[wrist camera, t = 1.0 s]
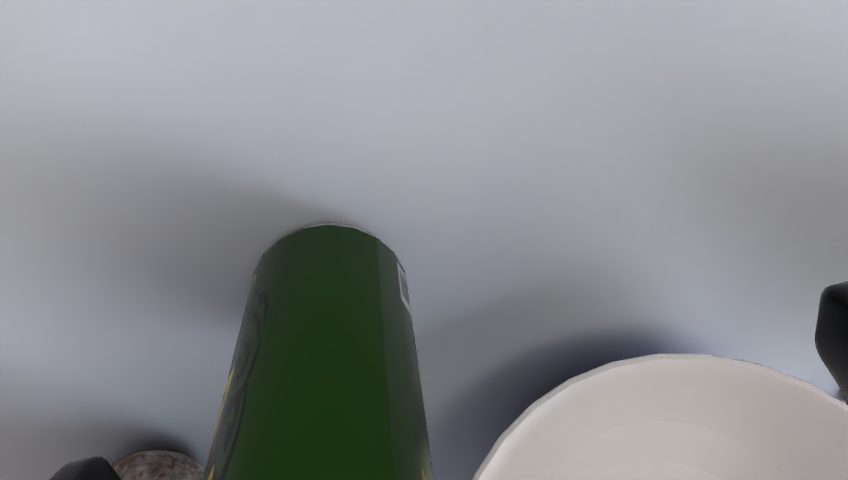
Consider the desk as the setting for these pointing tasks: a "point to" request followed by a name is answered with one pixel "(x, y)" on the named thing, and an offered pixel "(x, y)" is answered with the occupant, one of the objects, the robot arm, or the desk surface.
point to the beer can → (324, 367)
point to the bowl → (676, 425)
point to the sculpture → (158, 466)
